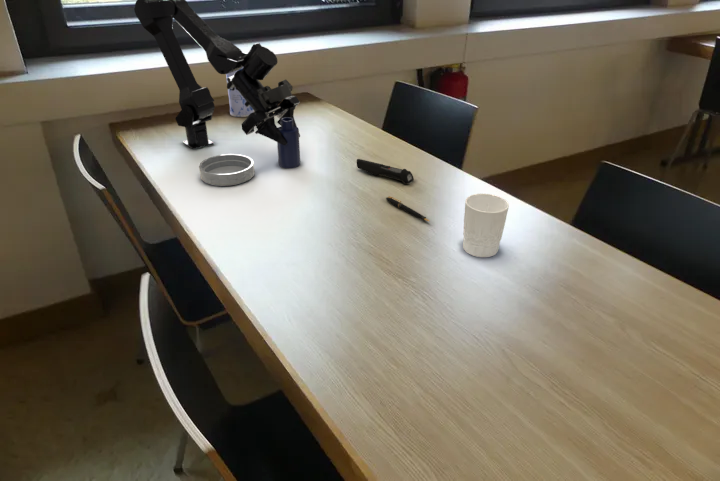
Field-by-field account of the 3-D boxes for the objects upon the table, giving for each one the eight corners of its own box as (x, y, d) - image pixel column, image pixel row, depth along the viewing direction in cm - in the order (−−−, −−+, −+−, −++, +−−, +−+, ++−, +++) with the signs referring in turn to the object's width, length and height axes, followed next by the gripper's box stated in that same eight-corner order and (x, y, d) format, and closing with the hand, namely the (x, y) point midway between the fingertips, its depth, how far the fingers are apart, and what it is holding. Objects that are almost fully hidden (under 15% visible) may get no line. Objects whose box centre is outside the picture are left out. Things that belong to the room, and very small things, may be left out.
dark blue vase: (274, 163, 139) (271, 118, 133) (292, 158, 142) (289, 114, 136) (286, 170, 135) (283, 124, 129) (304, 164, 138) (302, 119, 132)
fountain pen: (432, 223, 112) (432, 217, 111) (428, 225, 111) (428, 219, 111) (387, 199, 122) (387, 193, 121) (383, 200, 121) (383, 194, 120)
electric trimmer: (361, 167, 138) (361, 155, 136) (414, 180, 131) (415, 168, 129) (353, 172, 135) (353, 160, 134) (407, 185, 128) (407, 173, 126)
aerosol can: (226, 116, 172) (218, 52, 162) (235, 109, 179) (228, 47, 169) (249, 117, 171) (243, 53, 161) (257, 110, 178) (252, 48, 168)
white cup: (503, 242, 106) (510, 197, 101) (498, 262, 99) (506, 215, 94) (463, 235, 108) (469, 190, 103) (456, 255, 101) (462, 208, 96)
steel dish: (191, 174, 132) (189, 162, 131) (237, 161, 140) (236, 150, 138) (216, 191, 124) (215, 179, 122) (264, 177, 131) (263, 165, 130)
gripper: (246, 79, 121) (289, 134, 122) (291, 63, 135) (330, 112, 137) (223, 108, 128) (264, 159, 130) (268, 90, 142) (305, 136, 144)
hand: (292, 141), depth 135 cm, fingers closed on dark blue vase, 5 cm apart
